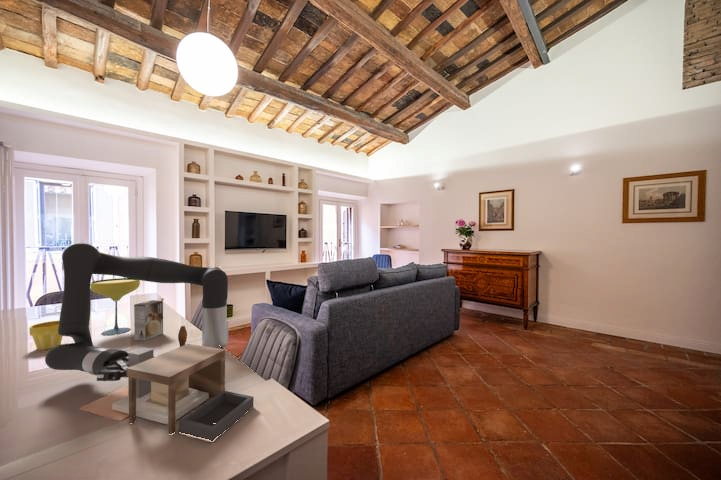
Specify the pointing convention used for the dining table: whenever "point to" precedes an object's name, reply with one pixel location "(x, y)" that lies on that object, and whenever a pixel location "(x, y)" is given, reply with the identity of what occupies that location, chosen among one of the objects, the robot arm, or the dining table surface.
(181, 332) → the hand bell
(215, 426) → the pit trap
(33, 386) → the dining table surface
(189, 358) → the small wooden table
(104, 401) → the pad
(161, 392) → the birch block
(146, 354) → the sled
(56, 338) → the plant pot
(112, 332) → the cocktail glass
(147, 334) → the coffee box
